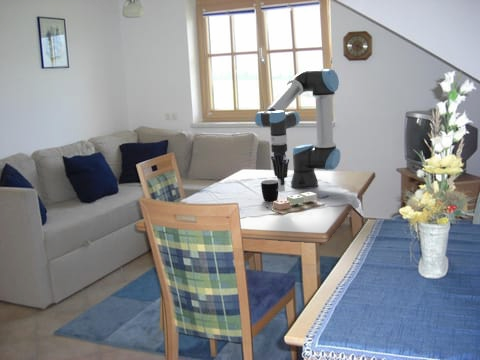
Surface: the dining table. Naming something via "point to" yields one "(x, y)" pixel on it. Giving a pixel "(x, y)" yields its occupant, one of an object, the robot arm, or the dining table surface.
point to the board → (298, 206)
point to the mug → (269, 190)
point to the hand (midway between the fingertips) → (281, 191)
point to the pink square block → (281, 204)
